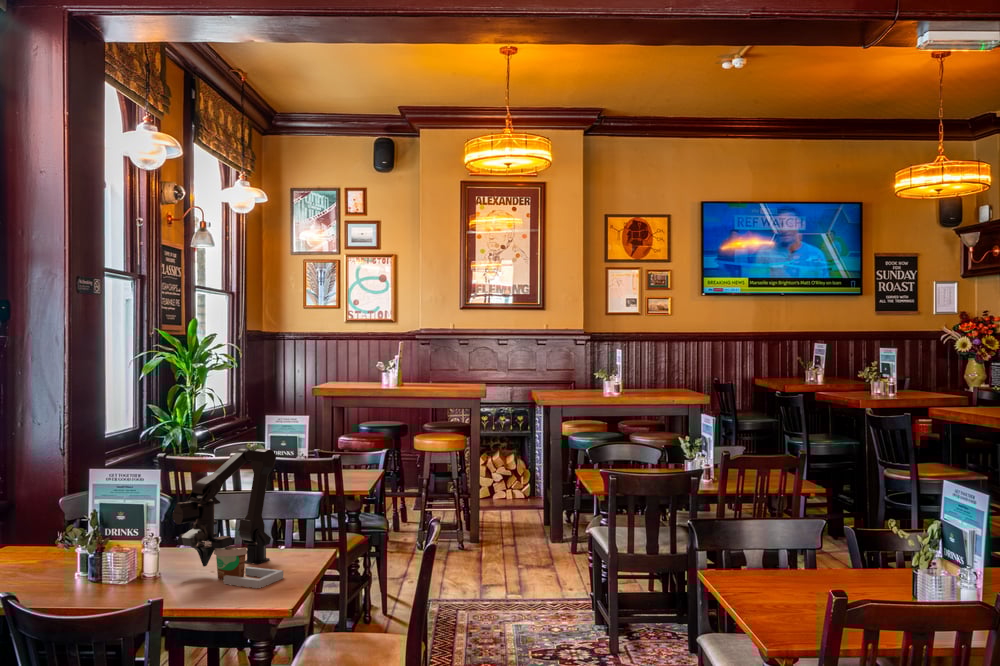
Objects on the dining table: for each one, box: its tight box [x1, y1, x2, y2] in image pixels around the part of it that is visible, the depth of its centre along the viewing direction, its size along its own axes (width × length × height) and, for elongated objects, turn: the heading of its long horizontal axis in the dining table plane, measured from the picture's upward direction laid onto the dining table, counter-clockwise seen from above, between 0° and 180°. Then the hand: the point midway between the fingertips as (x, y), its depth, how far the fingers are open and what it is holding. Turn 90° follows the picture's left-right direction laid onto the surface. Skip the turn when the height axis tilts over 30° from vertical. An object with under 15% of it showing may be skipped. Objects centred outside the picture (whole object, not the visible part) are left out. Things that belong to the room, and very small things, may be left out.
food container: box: [213, 546, 247, 580], centre depth 261 cm, size 12×6×10 cm, turn 62°
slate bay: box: [223, 566, 284, 589], centre depth 257 cm, size 12×14×2 cm
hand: (204, 566), depth 265 cm, fingers closed
